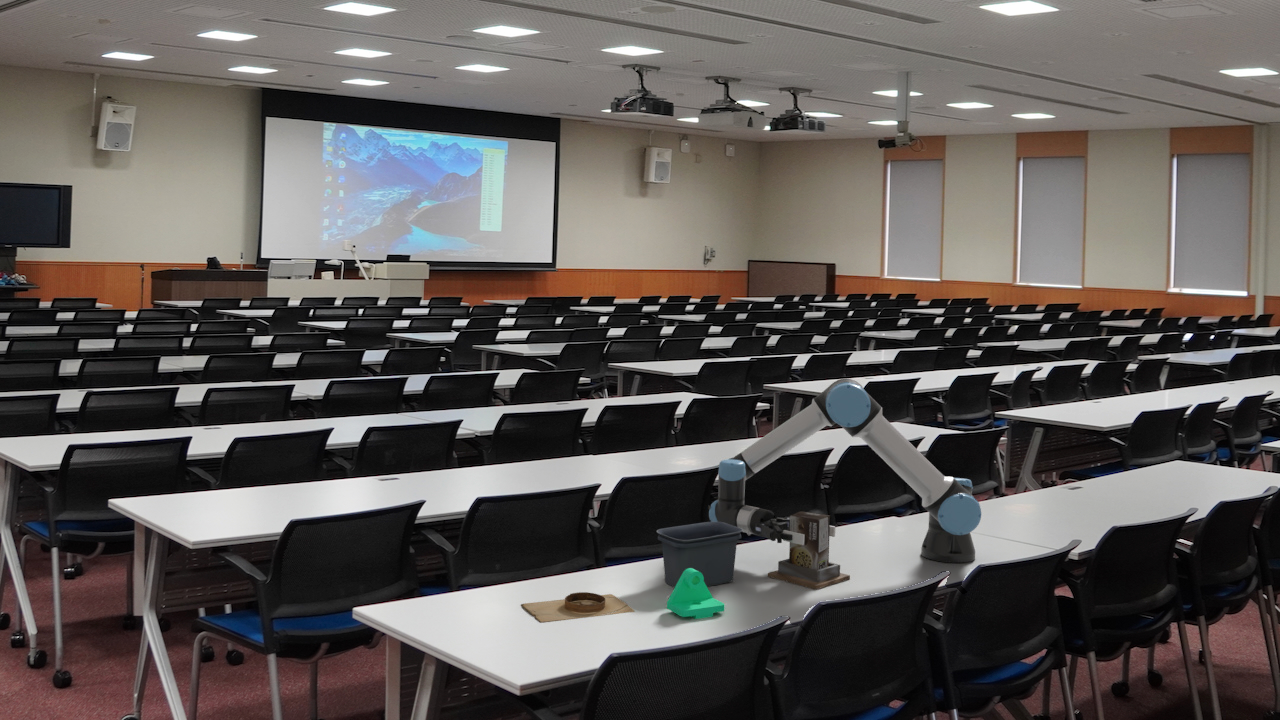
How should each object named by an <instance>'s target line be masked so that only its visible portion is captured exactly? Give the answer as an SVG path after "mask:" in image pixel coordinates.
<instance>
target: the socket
mask: <svg viewBox="0 0 1280 720" xmlns="http://www.w3.org/2000/svg"><path fill="white" fill-rule="evenodd" d="M777 565H778V567H777V570H773V571H769V572H767V577H769V578H771V579H776V580H779V581H783V582H786V583H790V584H792V585H797V586H801V587H804V588H809V589H812V590H819V589H822V588H825V587H829V586H832V585H835V584H838V583H841V582H845V581H847V580H850V579H851V575H850V574H846V573H842V572H841V564H838V563H833V562H831V561H829V567H826V568H822V569H819V570H815V569H811V568H807V567H803V566H799V565H795V564H791V563H789V558H785V559H782V560H779V561H778V563H777Z"/></svg>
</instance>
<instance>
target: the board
mask: <svg viewBox="0 0 1280 720" xmlns="http://www.w3.org/2000/svg"><path fill="white" fill-rule="evenodd" d="M520 606H521V608H523V610H525V611H526V612H527V613H529V615H531V616H532V617H533V618H535V620H536V621H538V622H539V623H541V624H542V623H551V622H559V621H560V622H561V621H569V620H577V619H586V618H592V617H593V618H594V617H601V616H602V617H603V616H609V615H617V614H619V615H620V614H626V613H634V612H636V611H635V609H633V608H632V607H631V606H630V605H628V604H627V603H626V602H624V601H623V600H621V599H620V598H619V597H617V596H616V595H614V594H611V593H609V594H599V593H595V592H589V591H588V592H586V591H584V592H583V591H582V592H581V591H579V592H573V593H569V594H568V595H567V596H565V597H564V598H563V599H554V600H547V601H546V600H545V601H538V602H535V601H534V602H528V603H526V602H525V603H521V604H520Z"/></svg>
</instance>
